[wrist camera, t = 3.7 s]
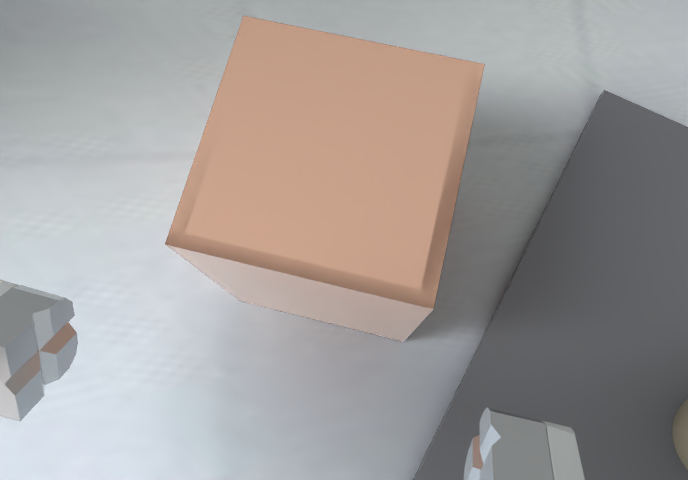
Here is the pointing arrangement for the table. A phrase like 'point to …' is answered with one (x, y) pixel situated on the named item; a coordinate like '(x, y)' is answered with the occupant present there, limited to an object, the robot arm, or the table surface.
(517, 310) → the mat
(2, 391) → the robot arm
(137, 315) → the table surface
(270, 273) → the light orange rectangular block
